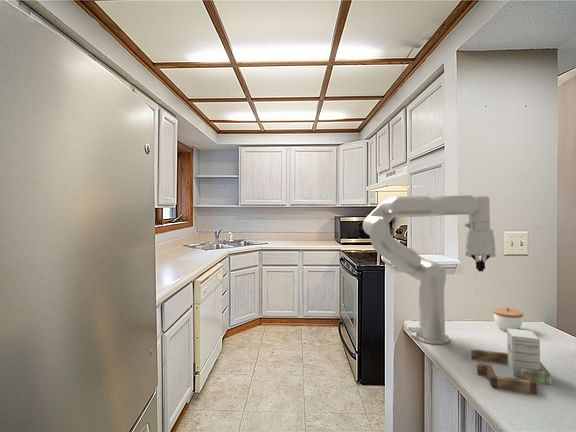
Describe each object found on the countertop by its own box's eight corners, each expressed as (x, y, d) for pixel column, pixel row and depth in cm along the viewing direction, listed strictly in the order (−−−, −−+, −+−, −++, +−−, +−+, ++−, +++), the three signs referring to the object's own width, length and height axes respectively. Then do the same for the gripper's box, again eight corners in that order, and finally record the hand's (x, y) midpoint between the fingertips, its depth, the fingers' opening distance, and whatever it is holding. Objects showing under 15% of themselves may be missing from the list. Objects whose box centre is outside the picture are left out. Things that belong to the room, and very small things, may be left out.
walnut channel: (477, 374, 104) (477, 365, 104) (471, 357, 116) (471, 348, 116) (550, 384, 97) (550, 374, 97) (535, 365, 109) (535, 355, 109)
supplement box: (507, 365, 110) (506, 327, 110) (534, 369, 107) (533, 330, 107) (512, 375, 103) (511, 335, 103) (541, 380, 100) (540, 338, 100)
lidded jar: (529, 333, 137) (529, 310, 137) (503, 334, 137) (503, 311, 137) (512, 324, 148) (511, 303, 148) (488, 325, 148) (487, 304, 148)
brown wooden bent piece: (491, 387, 96) (491, 377, 96) (486, 375, 104) (486, 365, 104) (536, 394, 92) (536, 383, 92) (528, 380, 100) (527, 370, 100)
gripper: (460, 226, 134) (461, 271, 134) (503, 226, 128) (504, 273, 128) (457, 226, 141) (458, 268, 141) (498, 225, 135) (499, 270, 135)
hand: (480, 270), depth 135 cm, fingers closed
